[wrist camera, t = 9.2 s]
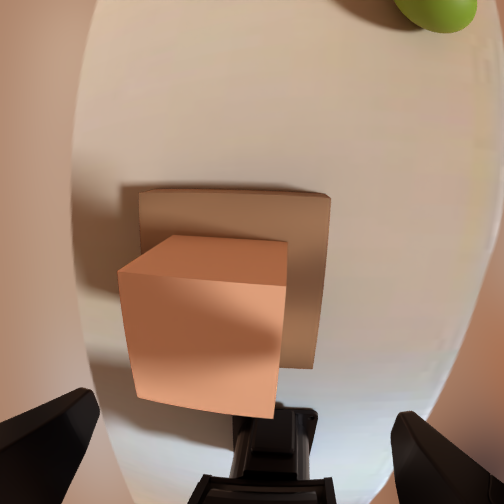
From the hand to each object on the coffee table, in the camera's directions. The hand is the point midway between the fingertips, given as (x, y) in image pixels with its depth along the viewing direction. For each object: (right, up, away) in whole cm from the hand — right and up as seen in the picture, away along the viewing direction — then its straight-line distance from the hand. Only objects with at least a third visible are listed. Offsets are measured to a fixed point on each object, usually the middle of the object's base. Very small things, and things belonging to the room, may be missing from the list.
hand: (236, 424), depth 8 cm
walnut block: (-1, +4, +12) cm, 13 cm away
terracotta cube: (-1, +2, +9) cm, 10 cm away
